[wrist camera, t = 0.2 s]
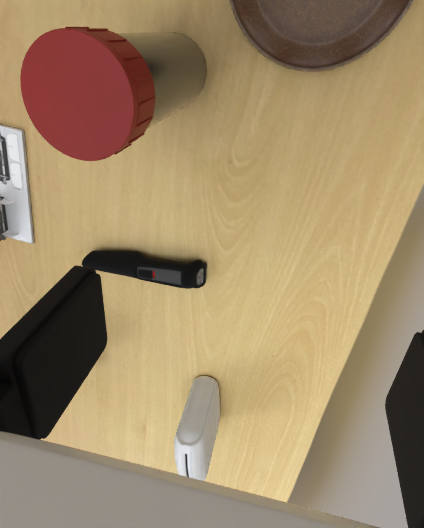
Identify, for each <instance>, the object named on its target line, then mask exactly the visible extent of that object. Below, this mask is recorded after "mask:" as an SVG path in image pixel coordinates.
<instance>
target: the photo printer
mask: <svg viewBox="0 0 424 528" xmlns="http://www.w3.org/2000/svg"><path fill="white" fill-rule="evenodd" d="M219 421H220V398H219V387H218V383H217V381H215V380H214V379H213V378H211V377H208V376H199V377H198V378H195V379H194V381H193V383H192V386H191V390H190V393H189V396H188V399H187V402H186V405H185V408H184V411H183V414H182V417H181V420H180V423H179V426H178V429H177V432H176V436H175V444H174V445H175V447H174V448H175V461H176V466H177V471H178V474H179V475H182V476H186V477H190V478H194V479H197V480H201V481H204V480H205V478H206V476H207V473H208V469H209V465H210V460H211V456H212V452H213V448H214V443H215V439H216V435H217V430H218V426H219Z"/></svg>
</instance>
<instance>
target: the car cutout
mask: <svg viewBox="0 0 424 528" xmlns="http://www.w3.org/2000/svg"><path fill="white" fill-rule="evenodd" d="M6 237H9V238H13V239H17V240H20V241H24V242H27V243H31V244H33V243H34V232H33V221H32V210H31V199H30V188H29V178H28V167H27V156H26V145H25V134H24V130H22V129H18V128H14V127H9V126H5V125H1V124H0V241H1V240H2V239H3V240H5V239H6Z"/></svg>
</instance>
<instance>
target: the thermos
mask: <svg viewBox="0 0 424 528" xmlns="http://www.w3.org/2000/svg"><path fill="white" fill-rule="evenodd" d="M116 34H118V35H120V36H122V37H123V38H126V39H127V41H129V42H130V43H131V44H132V45H133V46H134V47H135V48H136V49H137V50H138V51H139V53H140V54H141V55H142V57H143V58H144V60H145V62H146V64H147V66H148V68H149V70H150V73H151V75H152V79H153V82H154V88H155V97H156V99H155V109H154V114H153V119H152V120H151V122H150V124H149V126H148V128H149V127H150V126H152V125H154V124H155V123H157V122H159V121H160V120H162V119H164V118H165V117H167V116H169V115H170V114H172V113H174V112H175V111H177V110H179V109H181V108H182V107H184V106H186V105H187V104H189V103H191V102H192V101H194V100H195V99H196V98H197V97H198V96H199V94H200V93H201V92H202V90H203V88H204V85H205V81H206V75H207V68H206V62H205V58H204V56H203V53H202V51H201V50H200V48H199V47H198V45H197V44H196V43H195V42H194V41H193V40H192V39H191V38H189V37H188V36H186V35H184V34H180V33H175V32H166V33H116Z"/></svg>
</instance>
